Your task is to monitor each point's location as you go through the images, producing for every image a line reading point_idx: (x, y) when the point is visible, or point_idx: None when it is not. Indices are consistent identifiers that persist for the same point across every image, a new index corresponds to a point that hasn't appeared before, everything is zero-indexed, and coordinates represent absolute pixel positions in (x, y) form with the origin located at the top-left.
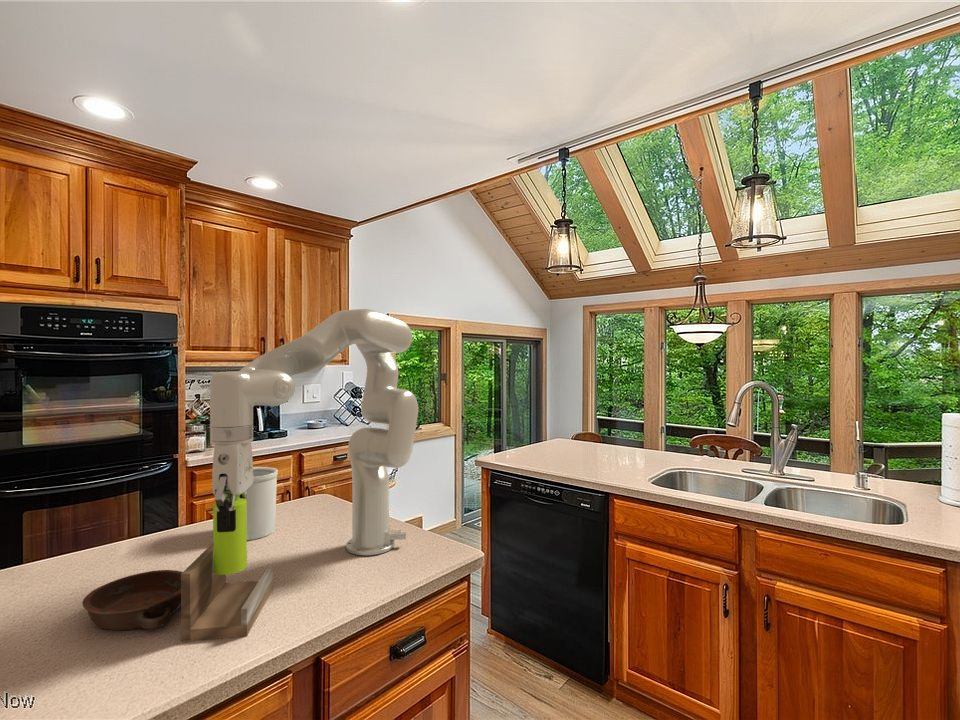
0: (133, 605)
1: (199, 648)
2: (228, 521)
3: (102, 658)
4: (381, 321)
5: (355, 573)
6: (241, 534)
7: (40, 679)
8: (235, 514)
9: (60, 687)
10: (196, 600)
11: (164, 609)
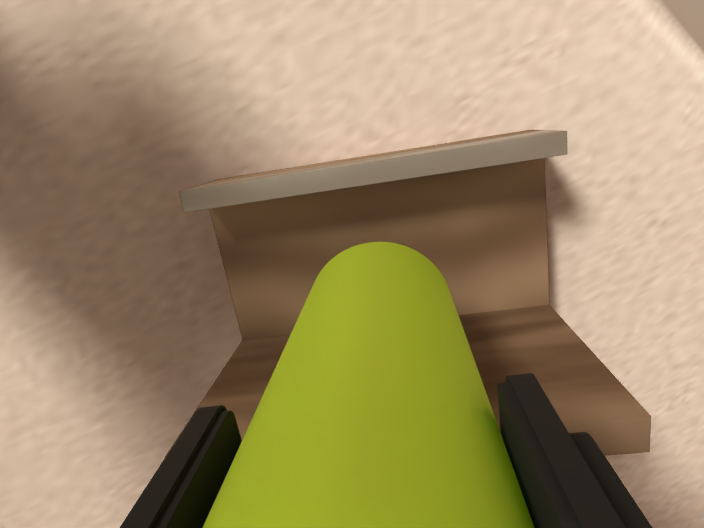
0: None
1: (582, 245)
2: (614, 477)
3: None
4: None
5: None
6: (421, 325)
7: (657, 523)
8: (577, 481)
9: (699, 470)
10: (519, 342)
11: None
